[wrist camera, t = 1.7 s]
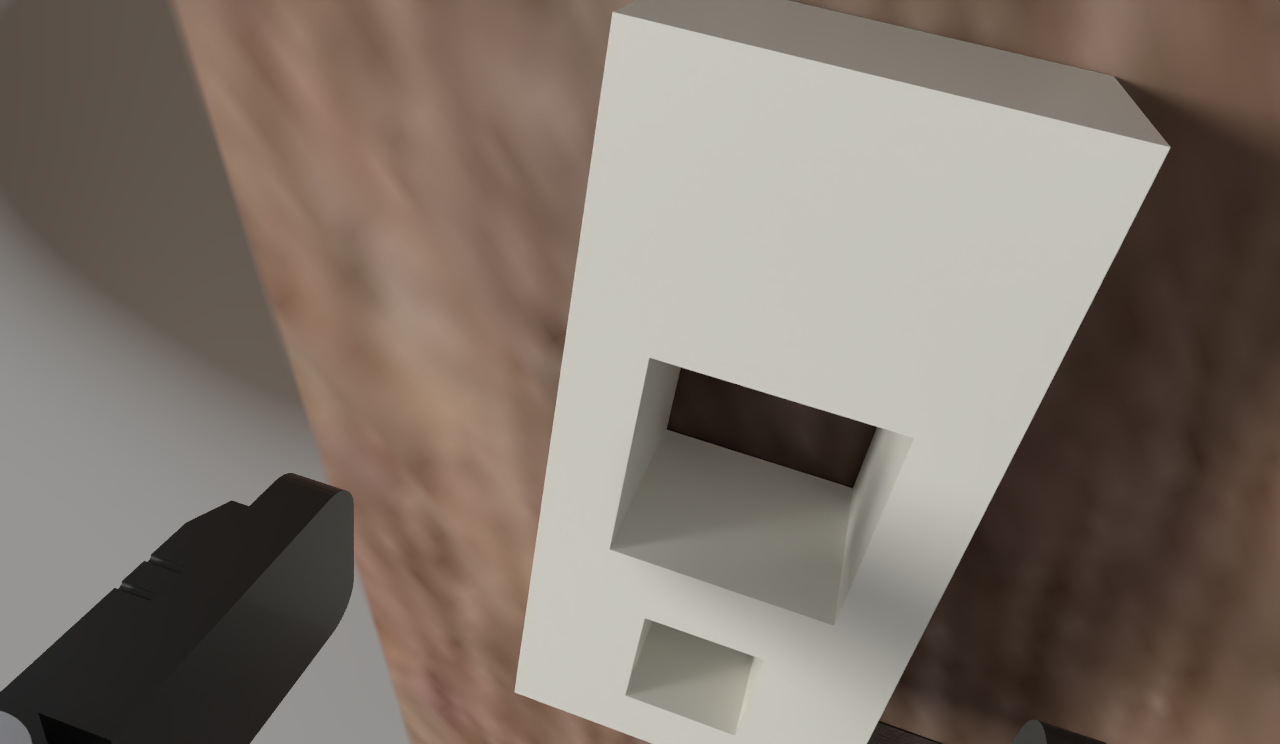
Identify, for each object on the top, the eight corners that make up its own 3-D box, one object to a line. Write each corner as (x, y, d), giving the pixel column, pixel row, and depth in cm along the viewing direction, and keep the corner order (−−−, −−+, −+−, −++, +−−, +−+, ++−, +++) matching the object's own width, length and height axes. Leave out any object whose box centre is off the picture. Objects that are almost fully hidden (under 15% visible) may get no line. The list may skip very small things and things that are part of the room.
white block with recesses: (687, -24, 13) (613, 12, 10) (1113, 76, 12) (1170, 147, 9) (578, 566, 19) (514, 692, 16) (849, 659, 18) (832, 810, 15)
